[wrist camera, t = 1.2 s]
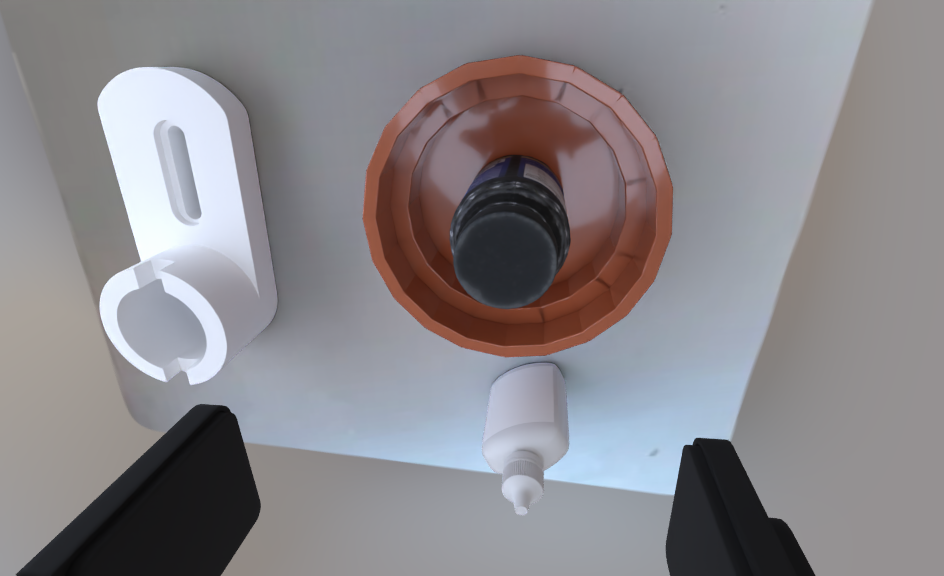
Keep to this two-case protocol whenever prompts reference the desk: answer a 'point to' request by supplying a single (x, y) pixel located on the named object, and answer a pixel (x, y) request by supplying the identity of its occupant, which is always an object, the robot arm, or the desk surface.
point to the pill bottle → (510, 232)
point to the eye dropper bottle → (526, 430)
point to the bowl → (571, 159)
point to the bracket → (186, 224)
